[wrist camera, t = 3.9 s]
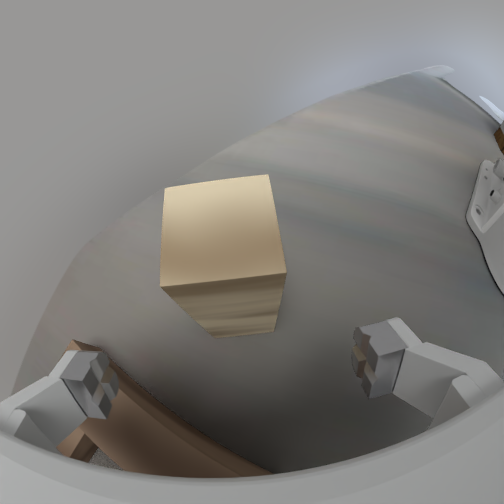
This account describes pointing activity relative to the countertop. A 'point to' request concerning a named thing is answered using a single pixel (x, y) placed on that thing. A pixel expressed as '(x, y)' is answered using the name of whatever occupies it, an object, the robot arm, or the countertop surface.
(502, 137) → the mug
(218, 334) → the maple peg
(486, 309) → the countertop surface
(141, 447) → the socket block
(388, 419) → the countertop surface
